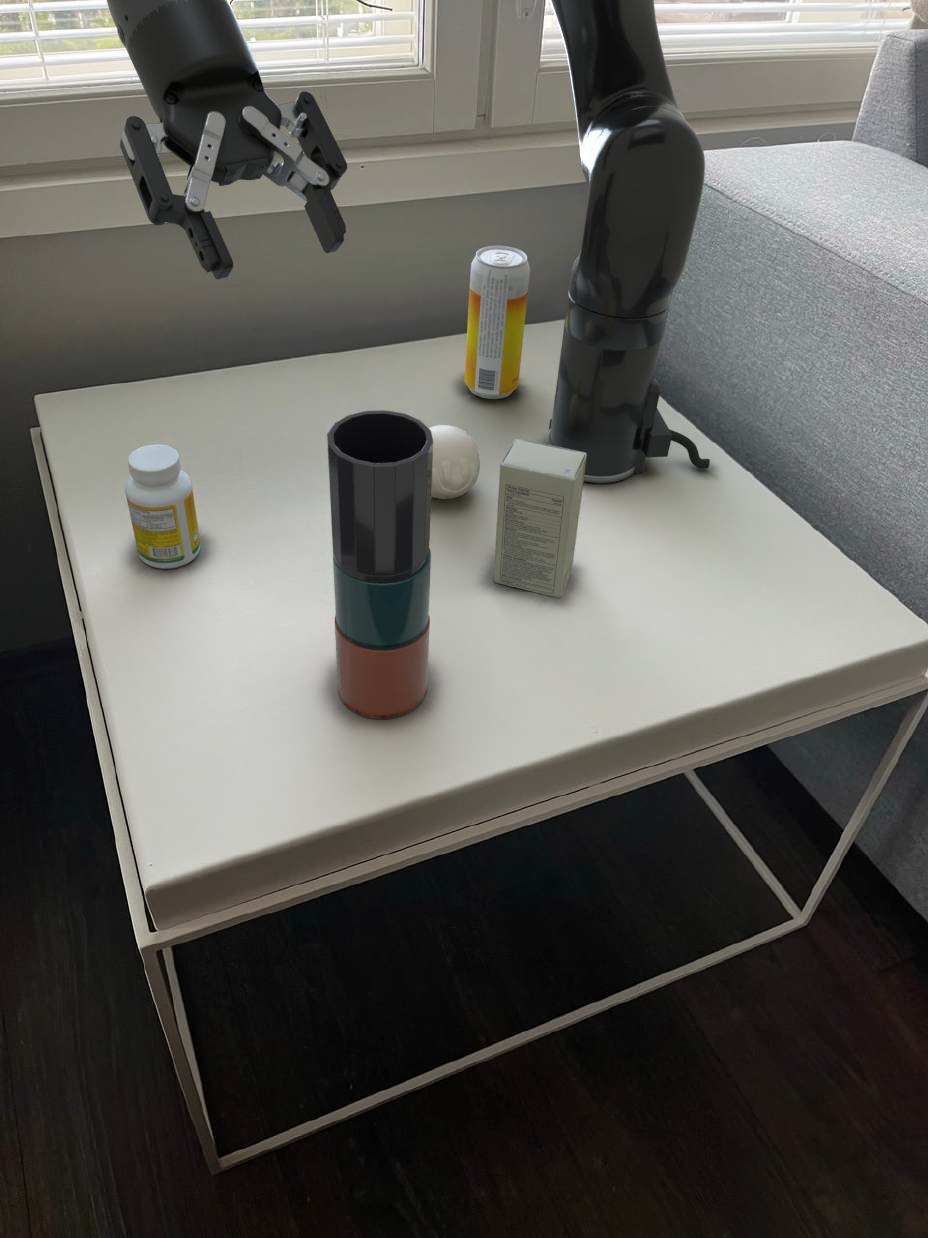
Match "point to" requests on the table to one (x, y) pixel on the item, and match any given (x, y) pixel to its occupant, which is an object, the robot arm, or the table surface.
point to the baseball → (453, 462)
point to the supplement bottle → (162, 507)
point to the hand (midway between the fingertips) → (282, 259)
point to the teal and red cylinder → (382, 643)
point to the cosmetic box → (538, 516)
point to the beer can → (496, 321)
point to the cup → (380, 494)
